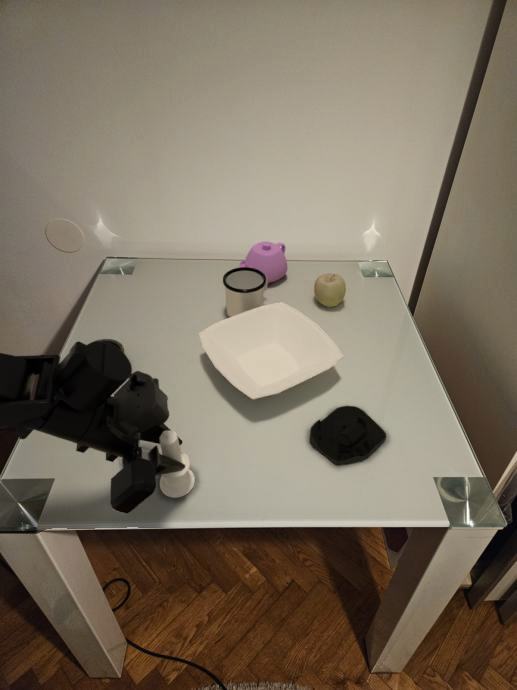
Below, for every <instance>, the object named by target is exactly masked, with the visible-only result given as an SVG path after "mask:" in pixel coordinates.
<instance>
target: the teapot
mask: <svg viewBox="0 0 517 690" xmlns="http://www.w3.org/2000/svg"><path fill="white" fill-rule="evenodd" d="M285 253H286V245H285V243H283V242H277V243H274V242H271V241H260V242H258V243H254V245H253V246H251V247H250V249H249V251H248V253H247V254H246V256H245V260H242V261H240V262H239V267H250V268H255V269H257V270H260V271H261V272H263V273H264V274H265V276H267V286H269V285H270V283H273V282H276V281H278V280H280V279H282V278H283V277H284V276H285V275H286V274H287V272H288V261H287V258H286V255H285Z"/></svg>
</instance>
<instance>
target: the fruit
mask: <svg viewBox="0 0 517 690" xmlns="http://www.w3.org/2000/svg"><path fill="white" fill-rule="evenodd" d="M313 288H314V289H313V291H314V295H315V297H316V300H317V301H318V302H319V303H320V304H321V305H322V306H325V307H330V308H332V307H336V306H338V305H339V304H340V303H342V302H343V300H344V299H345V296H346V292H347V291H346V290H347V287H346V282H345V280H344V278H343V277H342V276H341V275H339V274H337V273H323V274H321V275H319V276H318V277H317V278H316V280H315V281H314V285H313Z"/></svg>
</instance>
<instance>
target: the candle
mask: <svg viewBox="0 0 517 690" xmlns="http://www.w3.org/2000/svg"><path fill="white" fill-rule="evenodd" d="M177 436H178V434H177V432H176V431H175V430H171V431H163V432H162V434H161V436H160V444H159V446H160V451H161V454H162V455H164V456H167V457H169V458H172V459H174V460H177V461H179V462H181V463H183V464H184V465H185V468H184V469H183V470H182V471H178V472H173V473H167V474H162V475H161V477H160V479H159V488H160V490H161V491H162V493H163V494H164V495H165V496H167V497H169V498H181V497H184V496H186V495H187V494H189V493H190V492H191V491H192V490H193V488H194V485H195V482H196V477H195V474H194V472H193V471H192V470H191V469H190V467H191V461H190V457H189V456H188V455H187V454H186V453H185V452H182V451H181V445H180V446H179V440H178V437H179V436H178V437H177Z"/></svg>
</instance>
